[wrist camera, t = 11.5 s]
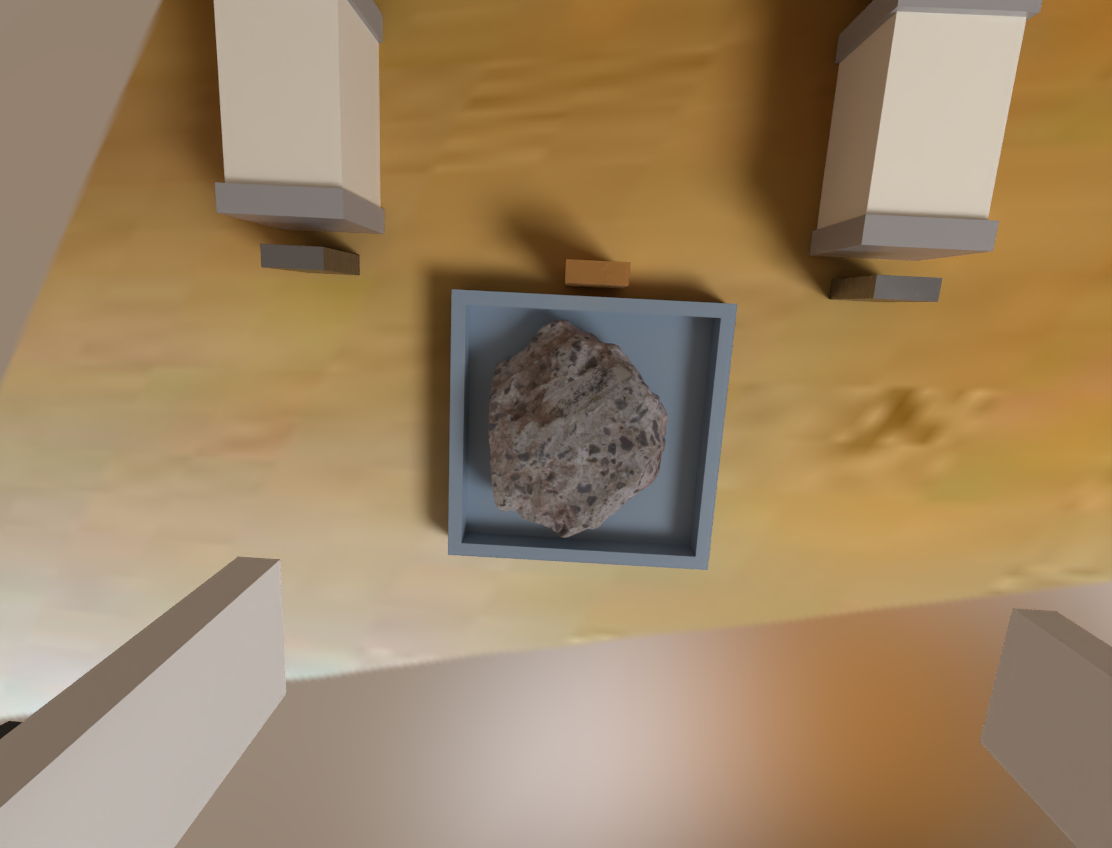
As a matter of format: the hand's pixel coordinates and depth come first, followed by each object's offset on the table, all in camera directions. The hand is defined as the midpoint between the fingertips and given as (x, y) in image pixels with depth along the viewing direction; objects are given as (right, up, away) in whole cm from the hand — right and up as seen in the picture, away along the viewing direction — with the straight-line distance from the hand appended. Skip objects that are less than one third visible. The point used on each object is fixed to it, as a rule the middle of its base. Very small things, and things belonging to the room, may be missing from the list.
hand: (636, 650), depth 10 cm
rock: (-1, +4, +21) cm, 21 cm away
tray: (0, +4, +21) cm, 21 cm away
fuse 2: (+14, +17, +18) cm, 29 cm away
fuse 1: (-13, +19, +18) cm, 29 cm away
